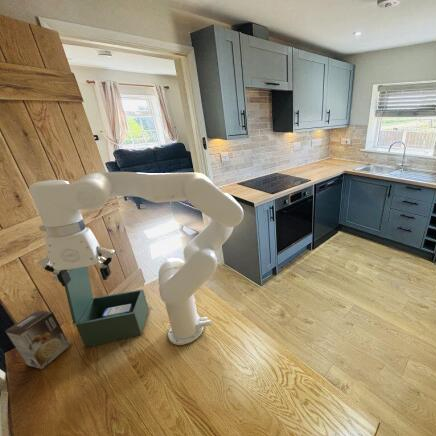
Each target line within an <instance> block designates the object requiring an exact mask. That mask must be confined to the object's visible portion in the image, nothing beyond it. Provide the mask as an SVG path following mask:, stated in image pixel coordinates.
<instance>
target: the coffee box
mask: <svg viewBox="0 0 436 436" xmlns="http://www.w3.org/2000/svg"><path fill="white" fill-rule="evenodd" d="M4 332H5V334H6V335H7V336H8V338H9V340H10V341H11V343H12V344H13V346H14V347H15V349H16V350H17V352H18V353H19V355H20V356H21V358H22V359H23V361H24V362H25V364H26V365H27V366H28V367H32V368H37V369H39V370H40V369H41V370H42V369H44V368H45V367H46V366H48V365H49V364H50V363H52V362H53V361H54V360H55V359H57V357H59V356H60V355H61V354H62V353H63V352H65V351H66V350H67V349H68V348H69V347H70V346H71V344H70V342H69V340H68V338H67V336H66V334H65V333H64V330H63V328H62V327H61V325H60V323H59V321H58V320H57V317H56V316H55V314H54V312H51V311H47V310H41V309H38V310H36V311H34V312H33V313H31V314H29V315H28V316H26V317H24V318H23V319H21V320H20V321H18V322H16V323H15V324H13V325H12V326H10V327H8V328H7V329H6V330H4Z"/></svg>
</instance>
